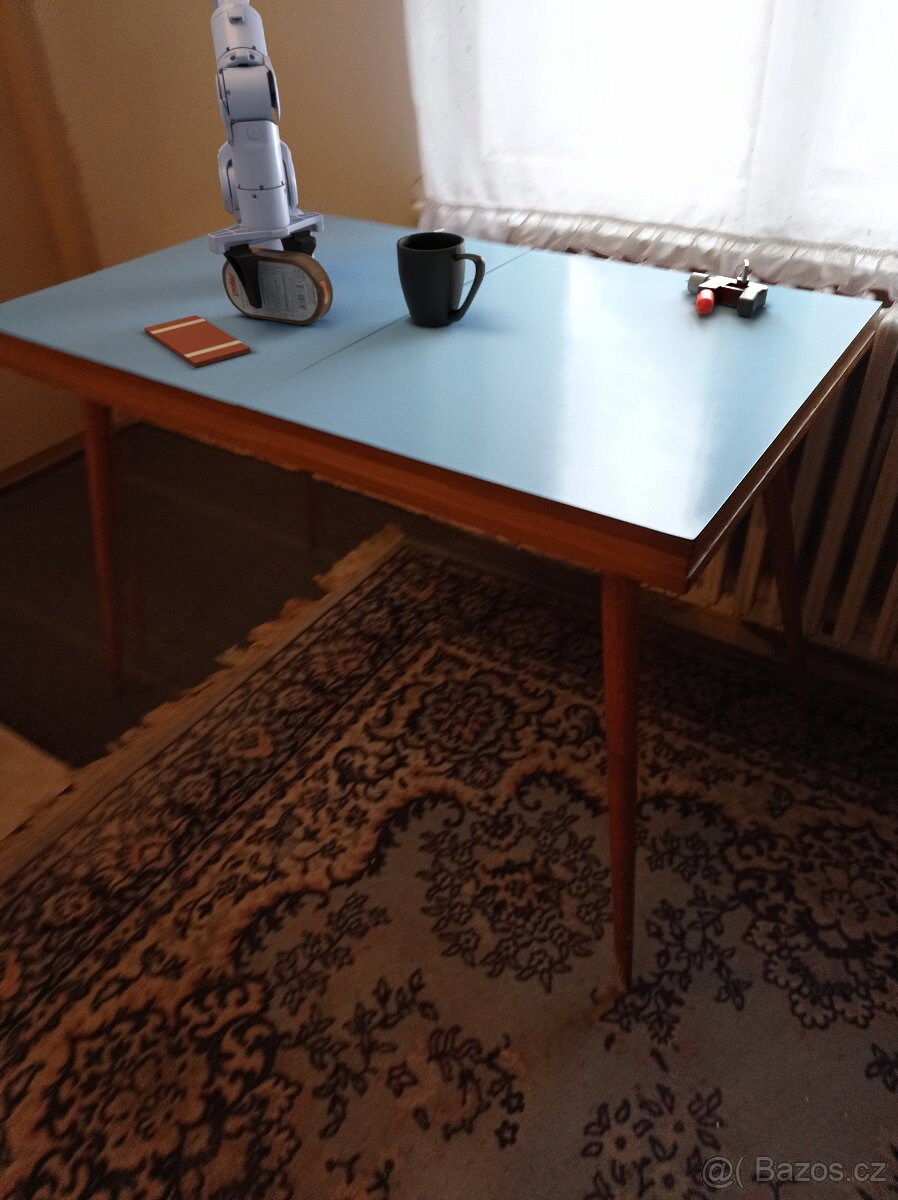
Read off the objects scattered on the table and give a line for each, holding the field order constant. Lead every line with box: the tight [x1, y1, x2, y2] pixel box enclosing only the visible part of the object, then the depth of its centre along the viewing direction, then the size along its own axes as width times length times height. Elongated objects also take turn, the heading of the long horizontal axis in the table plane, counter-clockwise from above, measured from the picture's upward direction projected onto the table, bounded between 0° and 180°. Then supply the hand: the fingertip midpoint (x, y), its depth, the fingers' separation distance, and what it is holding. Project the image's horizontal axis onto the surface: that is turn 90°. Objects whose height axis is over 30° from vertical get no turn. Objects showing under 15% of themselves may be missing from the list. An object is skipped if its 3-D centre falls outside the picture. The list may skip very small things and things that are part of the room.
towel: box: [143, 314, 252, 368], centre depth 110 cm, size 7×15×1 cm, turn 37°
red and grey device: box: [684, 258, 769, 317], centre depth 113 cm, size 10×12×5 cm
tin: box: [221, 246, 334, 326], centre depth 113 cm, size 15×3×8 cm, turn 65°
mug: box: [396, 231, 486, 328], centre depth 110 cm, size 8×12×10 cm
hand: (277, 300), depth 114 cm, fingers open, 5 cm apart
